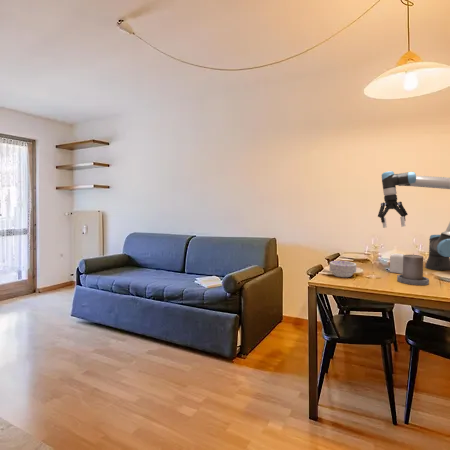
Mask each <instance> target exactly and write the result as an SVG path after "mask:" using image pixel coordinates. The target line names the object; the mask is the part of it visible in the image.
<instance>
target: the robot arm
mask: <svg viewBox="0 0 450 450" xmlns="http://www.w3.org/2000/svg"><path fill="white" fill-rule="evenodd" d="M381 184H382V191H383V192H382V193H383V196H384V197H383V199H384V201H383V202H381V203H380V208H379V211H378V215H377V218H379V219H380V221H381V224H382V228H384V229H385V228H387V227H388V226H387V218H386V217H385V216H386V215H387V214H388V212H389V211H390V210H394V211H396V212H397V214H399V215H400V219H399V220H400V225H401V228H402V227H406V216H408V212H407V211H406V209H405V207H404V205H403V203H402V201H398V195H397V187H416V188H417V187H418V188H431V189H441V190H442V189H443V190H450V177H445V176H443V177H442V176H429V175H428V176H427V175H417V174H416V173H415V172H414V171H408V172H401V173H395V172H394V171H391V170H390V171H385V172H383V173H381ZM396 186H397V187H396ZM428 240H429V245H428V246H429V247H428V258H427V260H426V263H425V265H424V266H425V268H426V269H430V270H432V271H433V270H434V271H442V270H450V222H449V223H448V225H447V227H446V229H445V230H444V231H442V232H441V234H431V235H430V236H429V239H428Z"/></svg>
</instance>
